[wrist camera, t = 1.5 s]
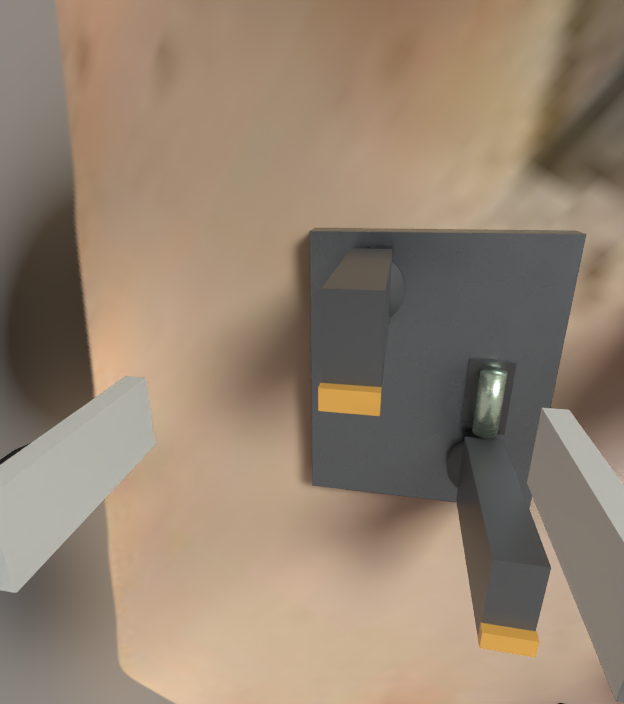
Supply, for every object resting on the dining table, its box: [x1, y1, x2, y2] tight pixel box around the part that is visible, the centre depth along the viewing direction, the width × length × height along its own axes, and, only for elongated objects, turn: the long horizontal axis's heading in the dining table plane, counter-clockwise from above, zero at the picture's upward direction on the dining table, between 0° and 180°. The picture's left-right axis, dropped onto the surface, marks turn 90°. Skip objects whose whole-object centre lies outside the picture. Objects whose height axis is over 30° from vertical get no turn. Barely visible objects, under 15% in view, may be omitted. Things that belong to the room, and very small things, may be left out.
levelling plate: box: [310, 228, 586, 508], centre depth 34 cm, size 22×18×4 cm
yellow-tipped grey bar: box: [318, 248, 405, 416], centre depth 26 cm, size 6×5×14 cm
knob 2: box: [446, 437, 551, 657], centre depth 30 cm, size 6×5×14 cm
